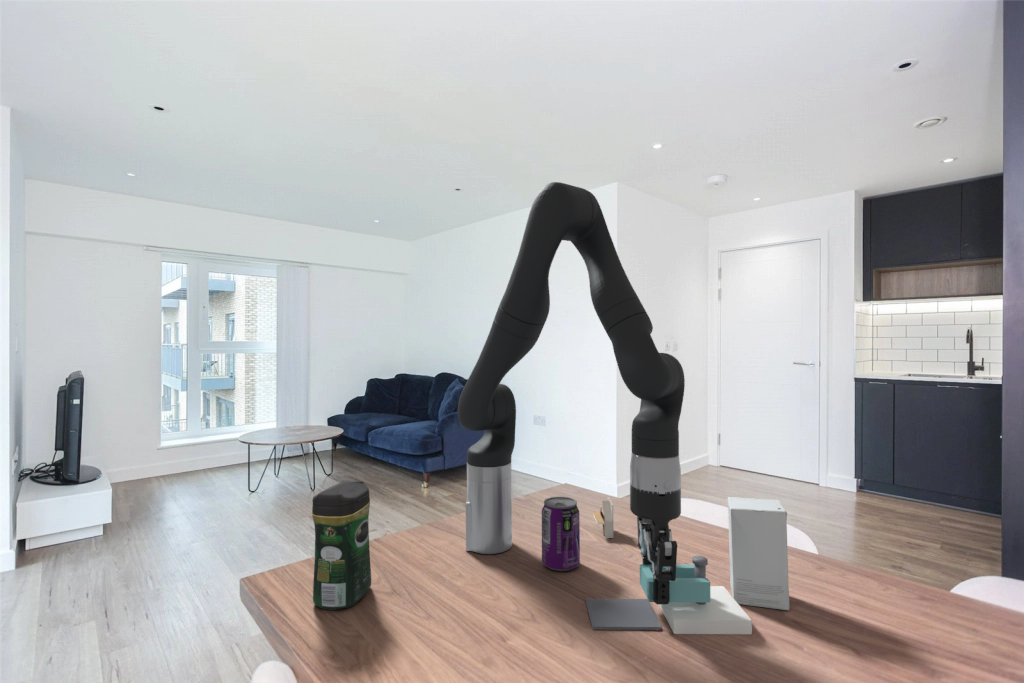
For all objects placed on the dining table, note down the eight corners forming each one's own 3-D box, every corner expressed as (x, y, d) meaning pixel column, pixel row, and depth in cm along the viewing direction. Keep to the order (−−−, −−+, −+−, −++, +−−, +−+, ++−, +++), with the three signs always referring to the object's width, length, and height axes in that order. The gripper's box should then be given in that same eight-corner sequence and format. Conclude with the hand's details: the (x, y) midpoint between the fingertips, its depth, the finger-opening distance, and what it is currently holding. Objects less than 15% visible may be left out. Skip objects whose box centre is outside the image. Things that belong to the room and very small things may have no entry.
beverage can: (578, 575, 89) (578, 508, 89) (539, 572, 91) (538, 506, 91) (581, 558, 96) (580, 496, 96) (544, 555, 98) (544, 494, 98)
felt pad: (592, 629, 72) (592, 626, 72) (585, 601, 80) (585, 598, 80) (661, 629, 72) (661, 627, 72) (647, 601, 80) (647, 598, 80)
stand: (674, 633, 71) (673, 573, 71) (655, 598, 81) (655, 545, 81) (751, 634, 71) (751, 574, 71) (723, 598, 81) (723, 545, 81)
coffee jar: (335, 581, 88) (334, 475, 88) (377, 584, 86) (377, 477, 86) (303, 610, 78) (302, 492, 78) (350, 614, 77) (349, 494, 77)
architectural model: (597, 540, 106) (597, 505, 106) (592, 528, 113) (592, 495, 113) (613, 540, 106) (613, 505, 106) (607, 528, 113) (607, 495, 113)
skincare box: (782, 593, 82) (781, 499, 83) (790, 613, 76) (789, 512, 76) (727, 585, 85) (727, 494, 85) (731, 604, 79) (730, 506, 79)
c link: (649, 602, 74) (649, 581, 74) (639, 583, 79) (639, 564, 79) (710, 602, 73) (710, 582, 73) (696, 583, 79) (696, 564, 79)
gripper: (621, 470, 84) (621, 570, 84) (642, 497, 69) (642, 618, 69) (665, 470, 84) (666, 570, 84) (696, 497, 69) (696, 618, 69)
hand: (655, 591), depth 76 cm, fingers closed on c link, 5 cm apart
